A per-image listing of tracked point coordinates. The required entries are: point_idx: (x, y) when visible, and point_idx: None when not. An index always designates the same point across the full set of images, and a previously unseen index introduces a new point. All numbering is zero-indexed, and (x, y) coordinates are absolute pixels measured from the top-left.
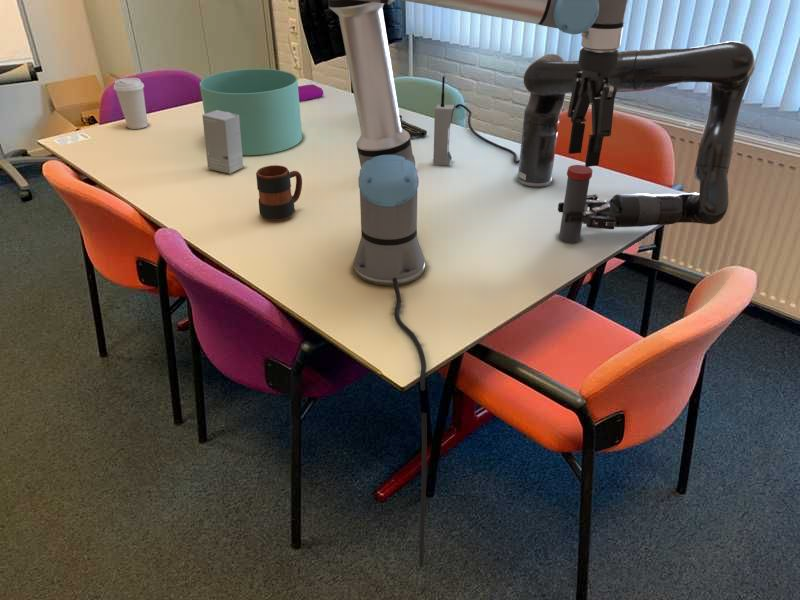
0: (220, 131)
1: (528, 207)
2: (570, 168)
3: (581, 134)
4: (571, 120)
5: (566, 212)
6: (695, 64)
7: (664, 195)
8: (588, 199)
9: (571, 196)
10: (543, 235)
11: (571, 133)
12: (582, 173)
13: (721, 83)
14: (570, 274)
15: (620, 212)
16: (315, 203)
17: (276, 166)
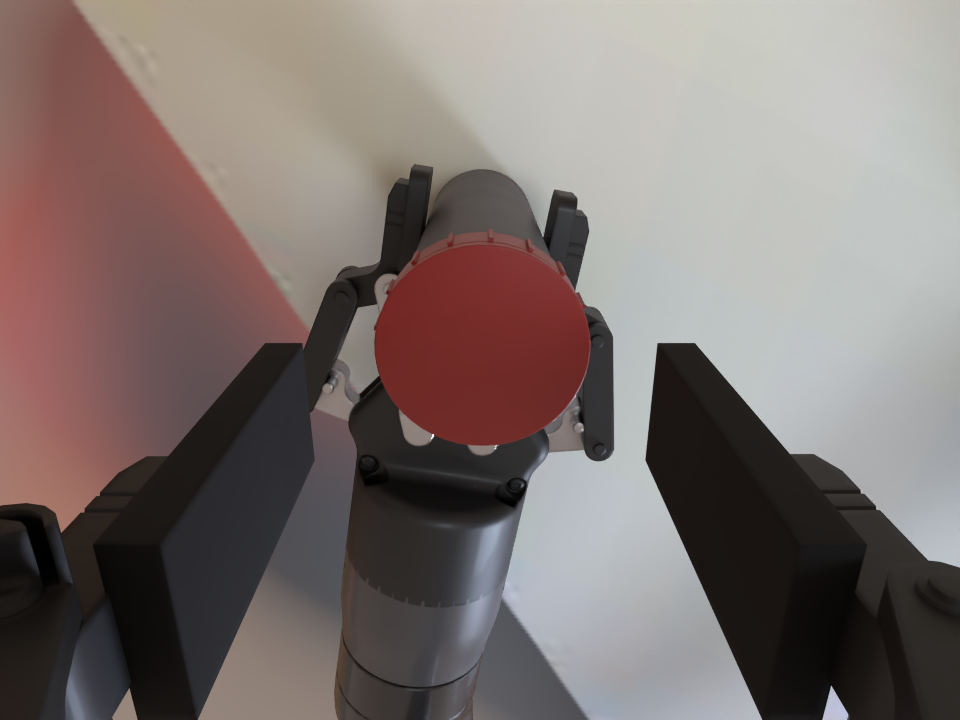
0: None
1: (874, 166)
2: (523, 276)
3: (711, 567)
4: (955, 581)
5: (457, 196)
6: None
7: (403, 716)
8: (582, 397)
9: (436, 227)
10: (544, 102)
11: (775, 454)
12: (384, 327)
13: None
14: (133, 56)
15: (373, 472)
16: None
17: None
